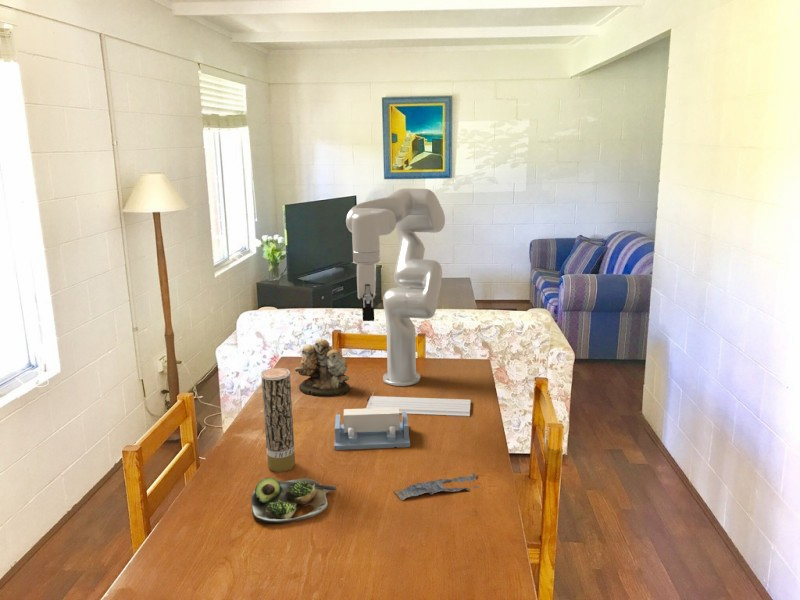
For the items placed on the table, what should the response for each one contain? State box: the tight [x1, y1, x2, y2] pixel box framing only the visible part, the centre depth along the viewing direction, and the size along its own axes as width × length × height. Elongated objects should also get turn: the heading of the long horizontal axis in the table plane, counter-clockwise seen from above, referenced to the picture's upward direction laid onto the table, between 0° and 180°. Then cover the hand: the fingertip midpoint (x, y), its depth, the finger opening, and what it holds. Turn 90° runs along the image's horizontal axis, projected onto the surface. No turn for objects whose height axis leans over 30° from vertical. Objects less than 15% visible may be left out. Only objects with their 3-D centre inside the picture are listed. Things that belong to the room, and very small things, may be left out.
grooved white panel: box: [364, 395, 472, 418], centre depth 198 cm, size 31×3×12 cm
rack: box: [333, 412, 411, 451], centre depth 179 cm, size 20×13×5 cm, turn 94°
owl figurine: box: [294, 338, 351, 398], centre depth 212 cm, size 18×12×17 cm, turn 81°
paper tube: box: [260, 367, 296, 473], centre depth 162 cm, size 7×7×25 cm
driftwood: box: [394, 472, 478, 501], centre depth 154 cm, size 21×7×2 cm, turn 103°
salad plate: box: [250, 477, 337, 526], centre depth 149 cm, size 19×18×5 cm
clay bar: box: [343, 407, 401, 433], centre depth 179 cm, size 15×4×5 cm, turn 93°
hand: (368, 315), depth 188 cm, fingers open, 9 cm apart
